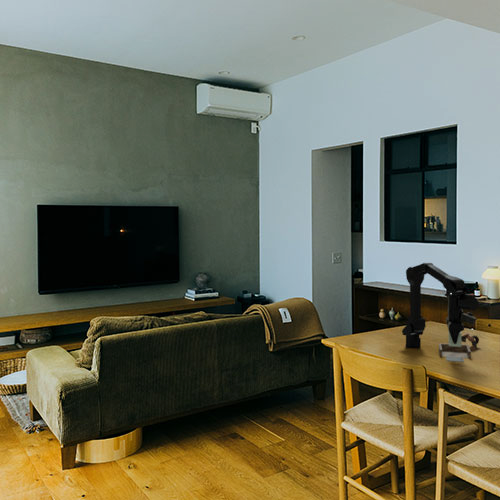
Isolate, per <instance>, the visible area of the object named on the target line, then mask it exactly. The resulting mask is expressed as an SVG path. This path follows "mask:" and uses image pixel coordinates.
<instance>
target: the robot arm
mask: <svg viewBox="0 0 500 500" xmlns="http://www.w3.org/2000/svg"><path fill="white" fill-rule="evenodd" d="M425 275H429V276H431V277H433V278H434V279H435V280H437V281H438V282H440V283H441V284H442V286H443V288H444V289H445V290H446V291H447V292H445V294H444V297H447V298H448V303H447V317H446V320H445V322H446V325H447V331H448V333H449V332H450V335H451V338H452V340H453V343H454V344H457V340H458V336H459V333H460V332H461V333H462V332H463V331H465V325H464V324H463V323H465V324H469V325H471V326H475V323H476V321H477V317H475V316H474V315H473V313H472V312H475V311H477V310H478V308H479V306H480V302H479V300H478V298H477V297H476V294H471V292H470V290H469V289H468V287H467V285H466V284H465V281H464V279H463V278H459V277H456V276H452V275H450V274H449V273H447V272H445V271H443V269H441V268H439V267H437V266H436V265H434V263H432V262H422V263H420V264H418V265H415V266H408V267H407V269H406V270H405V276H406V281H407V282H408V284H409V313H410V314H409V315H408V317H407V320H406V325H405V326H404V328H402V330H401V333H402V336H405V349H418V350H419V349H420V348H421V344H422V343H421V337H420V336H423V335H424V331H425V328H426V327H427V326H426V318H424V317H423V315H422V303H421V301H422V298H421V297H422V287H421V286H422V284H423V281H424V280H425ZM463 310H466V311H472V312H467V313H464V311H463Z"/></svg>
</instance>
